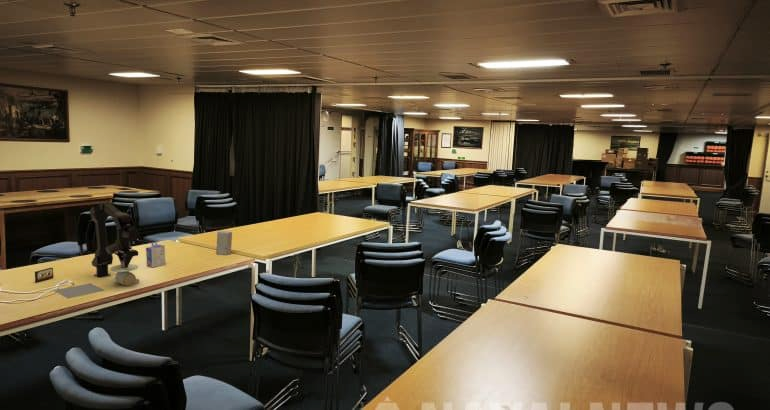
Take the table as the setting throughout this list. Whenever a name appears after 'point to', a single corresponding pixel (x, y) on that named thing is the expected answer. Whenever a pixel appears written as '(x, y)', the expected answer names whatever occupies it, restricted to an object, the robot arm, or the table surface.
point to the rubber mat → (79, 290)
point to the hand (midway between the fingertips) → (124, 266)
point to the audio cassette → (44, 275)
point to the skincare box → (224, 242)
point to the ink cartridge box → (155, 255)
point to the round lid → (123, 267)
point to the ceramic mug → (125, 278)
